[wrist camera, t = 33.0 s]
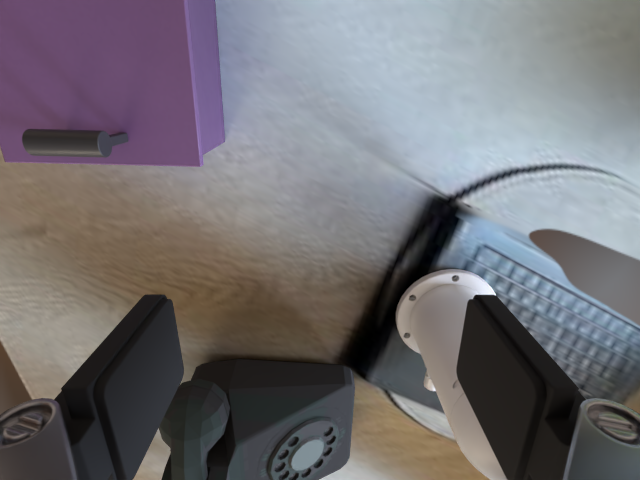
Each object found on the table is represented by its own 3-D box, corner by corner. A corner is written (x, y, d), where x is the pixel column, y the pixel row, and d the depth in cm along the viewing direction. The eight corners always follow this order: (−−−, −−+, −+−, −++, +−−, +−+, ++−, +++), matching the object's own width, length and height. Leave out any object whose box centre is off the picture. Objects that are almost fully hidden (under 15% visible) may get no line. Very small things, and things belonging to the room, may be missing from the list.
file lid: (203, 164, 30) (182, 180, 25) (12, 160, 30) (-48, 175, 25) (175, -135, 23) (137, -195, 18) (-79, -146, 23) (-190, -212, 18)
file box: (225, 141, 38) (202, 155, 30) (71, 137, 37) (9, 150, 30) (209, -79, 31) (175, -134, 23) (20, -87, 30) (-79, -146, 23)
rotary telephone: (342, 500, 60) (351, 623, 46) (210, 500, 59) (179, 625, 46) (354, 332, 47) (371, 433, 33) (186, 331, 47) (133, 433, 33)
